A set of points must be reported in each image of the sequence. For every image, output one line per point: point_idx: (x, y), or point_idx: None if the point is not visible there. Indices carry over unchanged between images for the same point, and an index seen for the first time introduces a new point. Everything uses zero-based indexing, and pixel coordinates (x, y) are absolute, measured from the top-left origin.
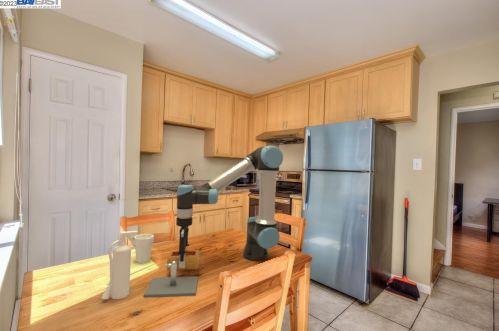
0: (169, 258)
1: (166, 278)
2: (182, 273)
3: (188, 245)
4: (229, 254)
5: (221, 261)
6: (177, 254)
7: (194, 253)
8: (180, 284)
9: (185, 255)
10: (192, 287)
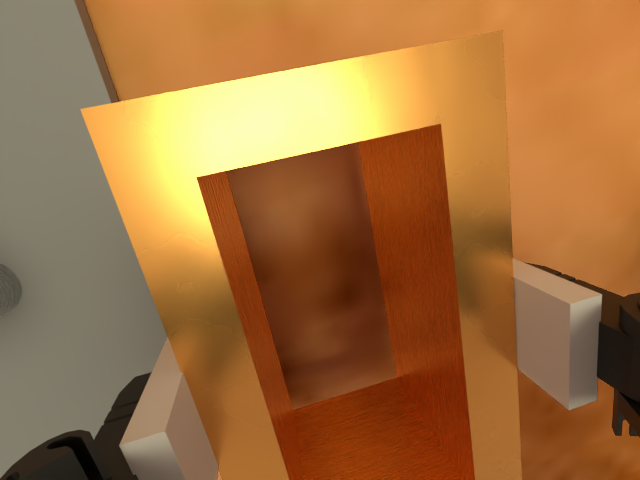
0: (113, 165)
1: (95, 163)
2: (295, 256)
3: (630, 429)
4: (634, 458)
5: (528, 452)
6: (422, 211)
7: (453, 456)
8: (22, 351)
9: (279, 442)
10: (11, 461)
